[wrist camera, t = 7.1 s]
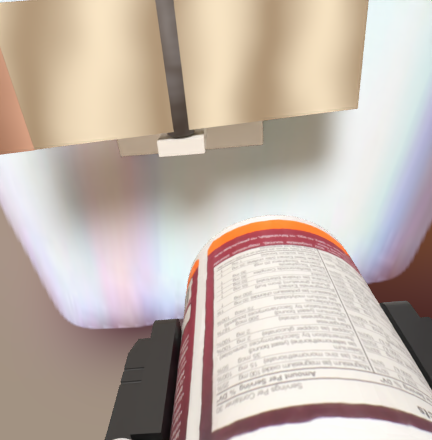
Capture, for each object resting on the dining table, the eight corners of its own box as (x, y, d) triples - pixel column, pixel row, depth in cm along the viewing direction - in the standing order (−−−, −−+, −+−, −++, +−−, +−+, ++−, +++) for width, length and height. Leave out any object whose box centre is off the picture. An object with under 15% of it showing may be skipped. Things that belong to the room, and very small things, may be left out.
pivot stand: (257, -65, 24) (272, -103, 17) (261, 141, 30) (274, 172, 23) (80, -46, 24) (29, -76, 17) (123, 153, 31) (97, 186, 24)
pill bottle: (268, 358, 16) (362, 938, 6) (155, 286, 14) (-6, 973, 4) (383, 272, 13) (874, 980, 3) (267, 172, 11) (612, 1114, 2)
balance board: (356, -29, 22) (373, -35, 20) (345, 108, 25) (358, 113, 24) (-64, 4, 19) (-83, 1, 17) (-6, 153, 23) (-17, 161, 21)
